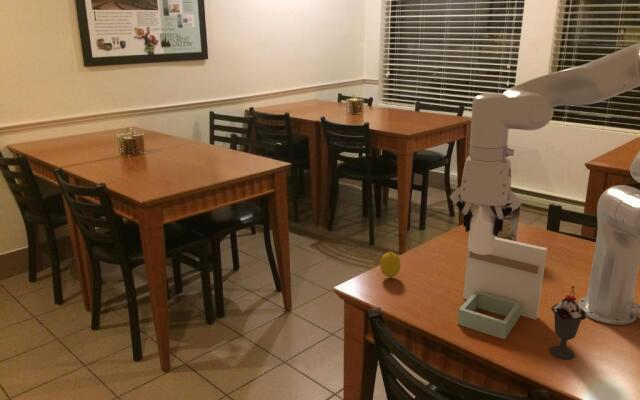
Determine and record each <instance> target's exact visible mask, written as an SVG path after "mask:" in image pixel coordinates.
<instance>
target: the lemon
mask: <svg viewBox="0 0 640 400" xmlns="http://www.w3.org/2000/svg"><path fill="white" fill-rule="evenodd" d="M400 259H401V258H400V257H399V255H398V254H396V253H395V252H393V251H392V250H391V251H388V252H385V253H384V254H383V256H382V257H381V259H380V264H379V265H380V272H381V273H382V274H383V275H384V276H385V277H387V278H389V279H392V278H393V277H396V276H398V274H399V272H400V270H401V260H400Z"/></svg>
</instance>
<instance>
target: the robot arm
mask: <svg viewBox="0 0 640 400" xmlns="http://www.w3.org/2000/svg"><path fill="white" fill-rule="evenodd" d="M638 87H640V42H638V43H637V42H636V43H635V44H632V45H629V46H627V47H624V48H621V49H620V50H616V51H614V52H612V53H610V54H609V53H608V54H607V55H605V56H603V57H599V58H597V59H595V60H592V61H589V62H588V63H587V62H586V63H584V64H581V65H578V66H573V67H568V68H567V69H563V70H559V71H556V72H550V73H548V74H544V75H541V76H537V77H535V78H532V79H530V80H527V81H525V82H522V83H519V84H517V85H514V86H512V87H510V88H508V89H506V90H505V91H504V92H503V93H481V94H478V95H476V96H475V97H474V98H473V100H472V109H471V110H472V111H471V125H470V127H471V128H470V141H469V143H470V145H469V155H468V156H467V157H466V159H465V162H464V167H463V170H462V177H461V185H460V186H459V187H458V188H457V189H455V190H454V191H453V192H452V193H451V194H450V195H449V199H450V200H451V201H452V202H453V203H454V204H456V207H457V208H458V209H459V210H460V211H461V213H462V215H463V223H462V225H463V227H465V232H466V233H469V232H470V219H471V217H472V215H473V212H472V209H471V208H472V207H473V204H474V205H479V204H480V205H488V206H495V209H496V213H497V217H496V219H495V227H494V235H495V236H498V234H499V231H501V232H502V229H503V218H504V217H505V216H507V215H508V214H509V213H511V212H512V211H513V210H515V209H517V208H518V207H520V208H521V205H522V202H521V200H520V199H519V198H518V196H516V194H515V193H514V192H513V190H512V165H511V160H510V158H508V157H510V156H511V157H513V156H514V155H515V149H513V148H510V147H509V145H508V140H509V130H510V129H511V130H521V131H537V130H540V129H542V128H545V126H547V125H548V124H549V123H550V122H551V120H552V119H553V116H554V108H555V107H560V106H583V105H593V104H598V103H601V102H603V101H606V100H608V99H611V98H614V97H615V96H618V95H620V94H624V93H626V92H629V91H631V90H634V89H636V88H638ZM629 172H630V175H631V177H632V178H633V179H634V181H636V182H637V183H639V184H640V150H639V151H638V152H637V154H636V155H635V157H634V158H633V161H632V162H631V163H630V167H629ZM508 200H510V201H511V202H512V204H511V205H509V206H507V207H506V208H505V209H504V206H505V205H506V204H507V202H508ZM596 208H597V209H596V217H597V218H596V219H597V229H596V230H597V231H596V239H595V240H596V241H595V246H594V252H593V258H592V263H591V269H590V276H589V281H588V288H587V294H586V295H585V296H583V297H580V299H579V300H578V305H579V306H580V308H581V309H583V310H584V311H585V312H586V317H588V318H590V319H592V320H594V321H597V322H600V323H604V324H607V325H608V324H609V325H614V326H625V325H626V326H627V325H629V324H633V323H634V322H635V321H636V320H637V316H640V303H638V302H636V301H635V298H636V296H635V295H634V293H635V287H636V282H637V278H638V273H639V268H640V189H638V188H636V187H633V186H629V185H624V184H620V185H619V184H617V185H613V186H610V187H609V188H606V189H605V191H603V192H602V194H601V195H600V196H599V199H598V202H597V206H596Z"/></svg>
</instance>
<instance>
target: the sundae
mask: <svg viewBox="0 0 640 400" xmlns="http://www.w3.org/2000/svg"><path fill="white" fill-rule="evenodd" d="M574 288H575V286H574V285H573V286H571V292H570V294H569V295H566V296H565V298H563V299H561V300H560V301H559V302H558V303H555V304H554V305H552V306H551V308H550V310H551V311H552V313H553V316H554V317H553V319H554V325H553V326H554V332H555V334H556V336H557V337H558V338H559V339H560V343H559V345H553V346H550V348H549V353H550V354H551V356H553V357H555V358H557V359H560V360H565V361H567V360H572V359H574V358H575V356H576V354H575V353H574V351H573V350H572V349H570V348H569V347H567V343H568V341H570V340H573V339H574V338H575V337H576V336H577V332H578V330H579V327H580V324H581V322H582V320H586V318H587V316H586V312H585V311H584V310H583V309H581V308H580V306H579V305H578V303H577V301H576V300H577V297H575V290H574ZM572 294H573V295H572ZM571 295H572V296H571Z"/></svg>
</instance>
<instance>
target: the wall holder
mask: <svg viewBox="0 0 640 400" xmlns="http://www.w3.org/2000/svg"><path fill="white" fill-rule="evenodd" d="M467 238H468V239H467V250H466V251H467V252H466V262H465V263H466V264H465V272H464V273H465V274H464V285H463V287H464V288H463V296H462V298H463V299H464V300H465V302H464V303H463V304H462V305H461V306H460V307H459V308H458V314H457V325H458V326H462V327H465V328H467V329H471V330H474V331H477V332H480V333H483V334H487V335H489V336H492V337H495V338H498V339H502V340H506V338H507V337H508V335H509V334H510V333H511V331H512V330H513V328H514V326H515V325H516V324H517V322H518V321H519V319H520V316H522V317H525V318H529V319H533V320H536V321H537V319H538V317H539V310H540V304H541V297H542V291H543V290H542V288H543V284H544V283H543V282H544V274H545V267H546V261H547V259H546V258H547V253H548V247H544V246H543V247H542V246H539V245H535V244H530V243H525V242H521V241H517V240H516V241H512V240H507V239H503V238H498V237H495V243H494V252H493V253H491V254H488V255H480V254H475V253H473V252H471V251H470V250H469V235H468V237H467ZM476 309H481V310H482V311H486V312H491V313H493V314H497V315H500V316H503V317H505V318H504V319H503V320H502V319H501V318H500V319H499V318H496V317H493V316H489V315H486V314H482V313H480V312H477V311H476Z"/></svg>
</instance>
